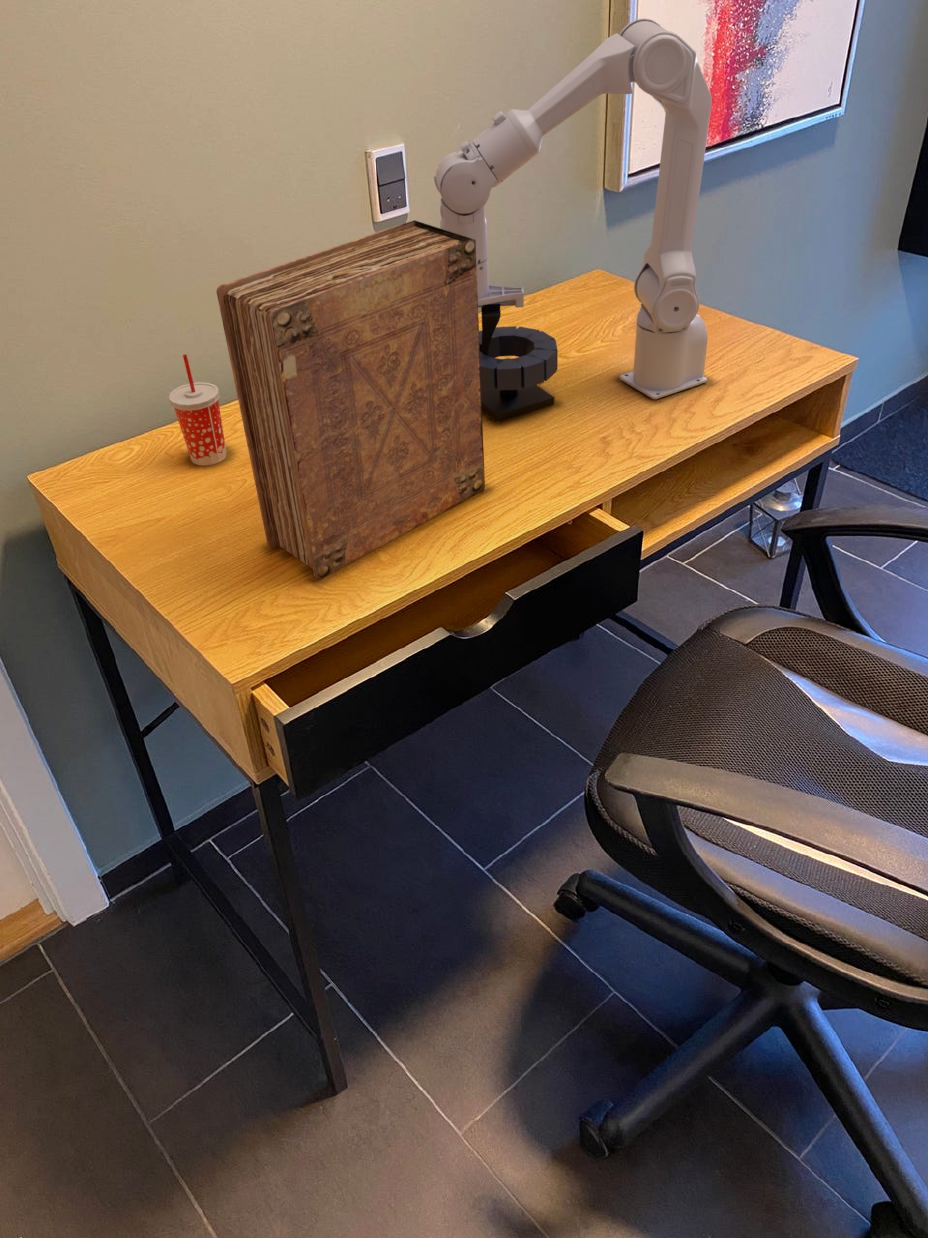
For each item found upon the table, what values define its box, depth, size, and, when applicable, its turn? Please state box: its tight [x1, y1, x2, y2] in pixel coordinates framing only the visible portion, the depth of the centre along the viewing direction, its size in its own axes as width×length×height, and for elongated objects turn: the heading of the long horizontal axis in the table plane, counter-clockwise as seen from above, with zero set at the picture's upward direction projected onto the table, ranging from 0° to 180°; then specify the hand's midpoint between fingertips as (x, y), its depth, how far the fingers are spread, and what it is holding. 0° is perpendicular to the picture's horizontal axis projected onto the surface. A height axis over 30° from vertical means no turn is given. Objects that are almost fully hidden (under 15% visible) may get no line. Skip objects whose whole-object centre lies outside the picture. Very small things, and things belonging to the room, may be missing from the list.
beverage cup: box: [168, 354, 228, 466], centre depth 125 cm, size 6×6×14 cm
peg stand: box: [481, 357, 555, 424], centre depth 136 cm, size 9×9×6 cm
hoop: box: [479, 325, 559, 390], centre depth 133 cm, size 13×13×3 cm
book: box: [215, 220, 486, 580], centre depth 107 cm, size 25×9×30 cm, turn 133°
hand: (469, 359), depth 133 cm, fingers closed on hoop, 3 cm apart
